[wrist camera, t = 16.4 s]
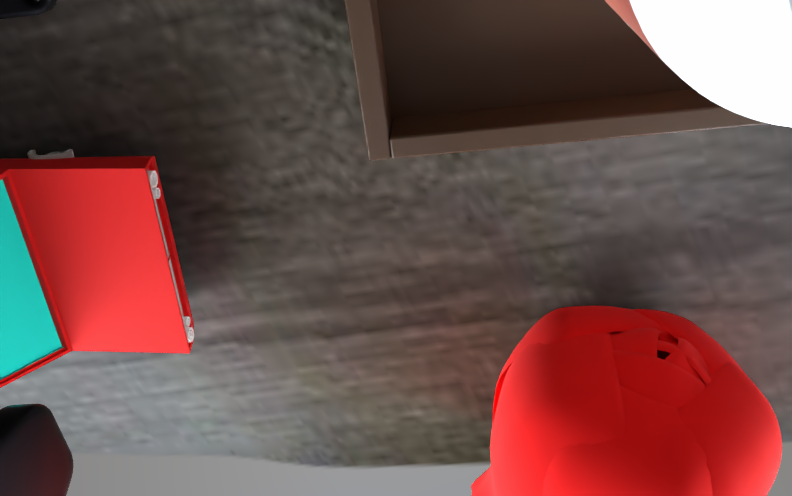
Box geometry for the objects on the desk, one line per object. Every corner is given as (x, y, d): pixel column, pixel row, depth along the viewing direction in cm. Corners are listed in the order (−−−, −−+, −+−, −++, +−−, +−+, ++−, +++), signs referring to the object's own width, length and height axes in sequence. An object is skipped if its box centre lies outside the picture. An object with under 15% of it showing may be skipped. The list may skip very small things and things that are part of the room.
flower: (889, 409, 17) (754, 589, 21) (660, 238, 22) (590, 411, 27) (658, 518, 14) (554, 706, 18) (453, 284, 19) (412, 474, 23)
